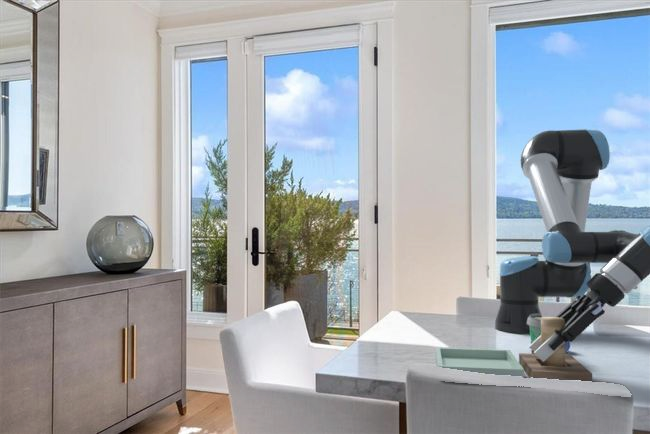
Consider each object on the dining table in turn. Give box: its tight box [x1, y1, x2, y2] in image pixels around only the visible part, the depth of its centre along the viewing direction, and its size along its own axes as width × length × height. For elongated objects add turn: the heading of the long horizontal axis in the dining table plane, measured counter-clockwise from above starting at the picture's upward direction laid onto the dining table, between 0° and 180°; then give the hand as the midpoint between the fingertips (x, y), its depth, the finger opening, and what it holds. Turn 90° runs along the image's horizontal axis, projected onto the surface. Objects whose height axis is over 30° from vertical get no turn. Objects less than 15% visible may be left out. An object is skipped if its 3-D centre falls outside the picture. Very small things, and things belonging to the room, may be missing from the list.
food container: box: [527, 313, 543, 354], centre depth 138 cm, size 12×6×10 cm, turn 5°
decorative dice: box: [565, 341, 571, 354], centre depth 143 cm, size 4×4×4 cm
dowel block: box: [518, 352, 594, 382], centre depth 121 cm, size 16×12×2 cm
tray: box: [435, 346, 525, 378], centre depth 124 cm, size 18×18×3 cm
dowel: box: [541, 316, 566, 367], centre depth 121 cm, size 5×5×12 cm
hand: (535, 353), depth 122 cm, fingers closed on dowel, 5 cm apart
